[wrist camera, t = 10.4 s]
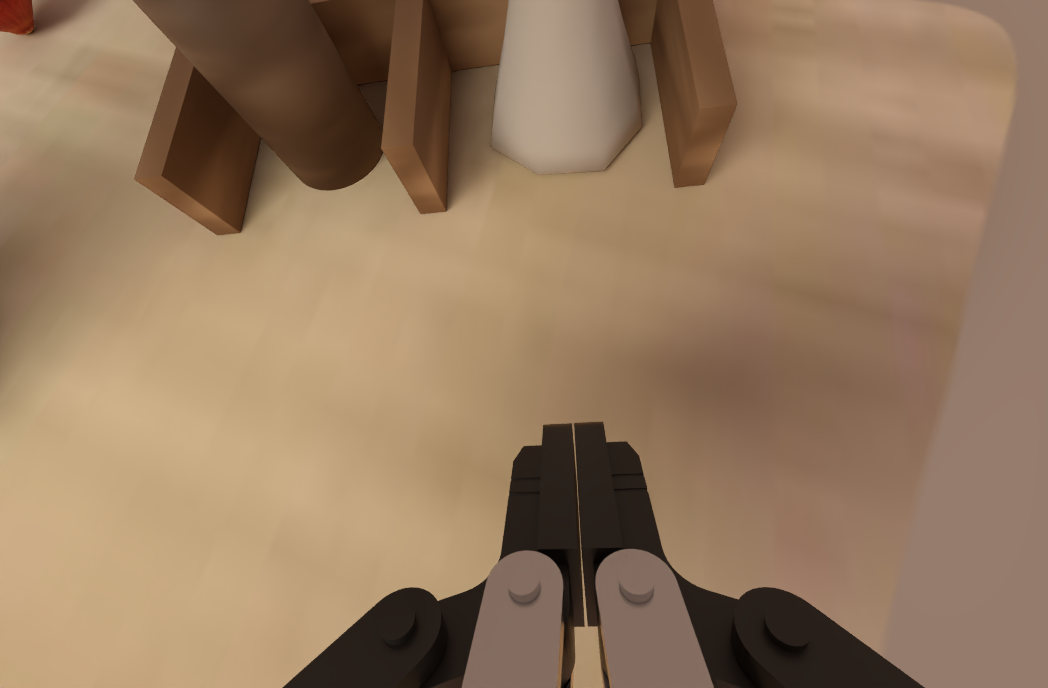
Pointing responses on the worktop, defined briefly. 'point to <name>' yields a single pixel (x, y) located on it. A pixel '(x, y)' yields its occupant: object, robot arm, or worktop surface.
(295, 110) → the pepper mill
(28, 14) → the onion
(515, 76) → the flask
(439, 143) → the rack
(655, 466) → the worktop surface
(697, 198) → the worktop surface
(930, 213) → the worktop surface
